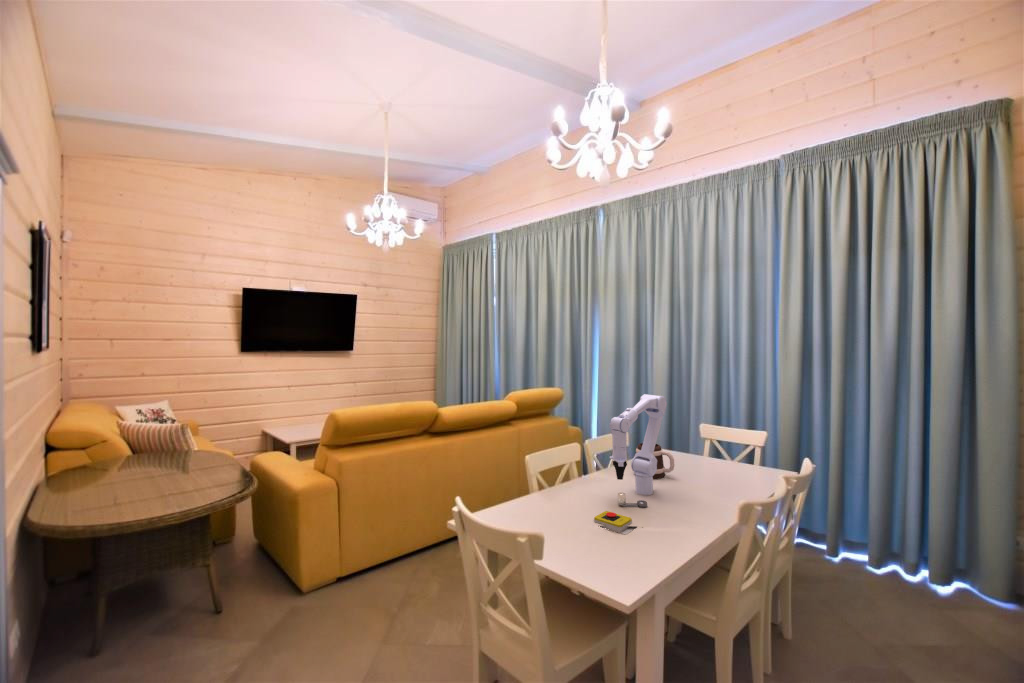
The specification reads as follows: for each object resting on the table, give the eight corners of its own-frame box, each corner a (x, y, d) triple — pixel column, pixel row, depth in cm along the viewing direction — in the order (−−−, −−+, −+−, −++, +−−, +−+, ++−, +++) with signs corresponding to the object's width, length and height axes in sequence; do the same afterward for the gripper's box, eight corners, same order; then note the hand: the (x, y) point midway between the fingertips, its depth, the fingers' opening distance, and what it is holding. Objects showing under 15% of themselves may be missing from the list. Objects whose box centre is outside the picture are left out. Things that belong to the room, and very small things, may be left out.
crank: (646, 504, 188) (646, 492, 188) (648, 508, 184) (648, 496, 184) (617, 503, 189) (617, 492, 189) (618, 507, 185) (618, 495, 185)
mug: (629, 476, 229) (628, 445, 229) (640, 468, 241) (640, 440, 241) (669, 483, 217) (669, 451, 217) (679, 475, 229) (679, 445, 229)
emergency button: (603, 506, 179) (638, 516, 169) (603, 517, 179) (638, 528, 169) (589, 513, 172) (625, 524, 162) (589, 524, 172) (625, 536, 162)
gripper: (608, 442, 199) (609, 473, 199) (610, 450, 185) (610, 484, 185) (625, 442, 198) (626, 474, 198) (628, 451, 184) (629, 485, 184)
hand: (619, 479), depth 191 cm, fingers closed
